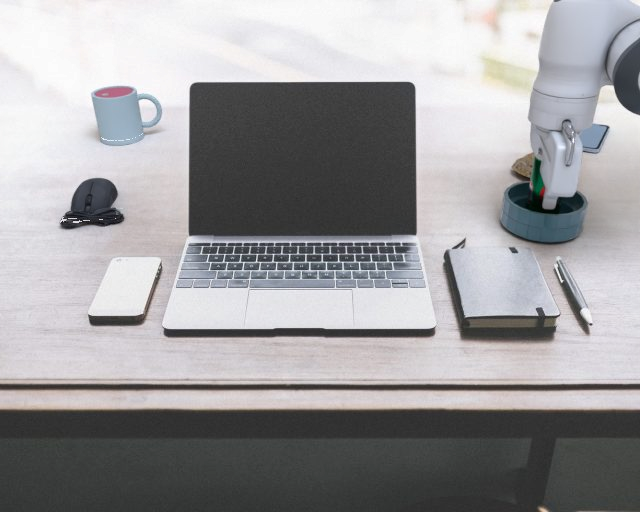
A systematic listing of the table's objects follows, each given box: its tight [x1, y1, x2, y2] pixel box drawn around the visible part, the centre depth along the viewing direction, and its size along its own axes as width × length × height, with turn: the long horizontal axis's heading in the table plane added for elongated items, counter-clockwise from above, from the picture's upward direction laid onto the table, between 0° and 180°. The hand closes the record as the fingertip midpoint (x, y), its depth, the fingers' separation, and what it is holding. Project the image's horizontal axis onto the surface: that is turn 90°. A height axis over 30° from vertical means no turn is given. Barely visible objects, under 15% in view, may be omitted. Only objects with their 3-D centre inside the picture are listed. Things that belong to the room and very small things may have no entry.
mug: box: [90, 85, 163, 146], centre depth 132 cm, size 14×9×10 cm
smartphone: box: [579, 122, 611, 154], centre depth 129 cm, size 7×1×15 cm
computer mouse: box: [59, 177, 125, 228], centre depth 104 cm, size 10×15×4 cm
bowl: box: [499, 180, 589, 244], centre depth 96 cm, size 12×12×5 cm
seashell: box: [511, 152, 534, 179], centre depth 113 cm, size 8×6×8 cm
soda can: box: [525, 148, 567, 214], centre depth 94 cm, size 5×5×12 cm
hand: (544, 197), depth 95 cm, fingers closed on soda can, 5 cm apart
